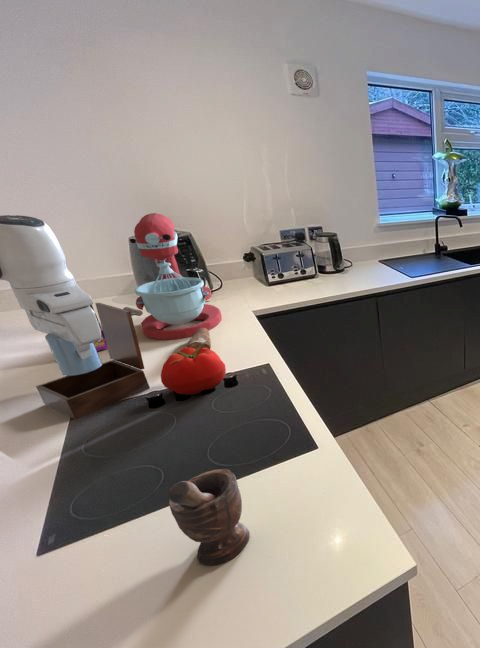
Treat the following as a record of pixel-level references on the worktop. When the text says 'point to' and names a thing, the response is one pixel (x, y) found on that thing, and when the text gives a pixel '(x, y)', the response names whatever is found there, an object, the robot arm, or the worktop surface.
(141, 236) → the stand mixer
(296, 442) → the worktop surface
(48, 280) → the robot arm
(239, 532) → the mortar and pestle
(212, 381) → the tomato
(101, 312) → the lid
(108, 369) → the brown wooden box
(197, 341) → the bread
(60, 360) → the canister
